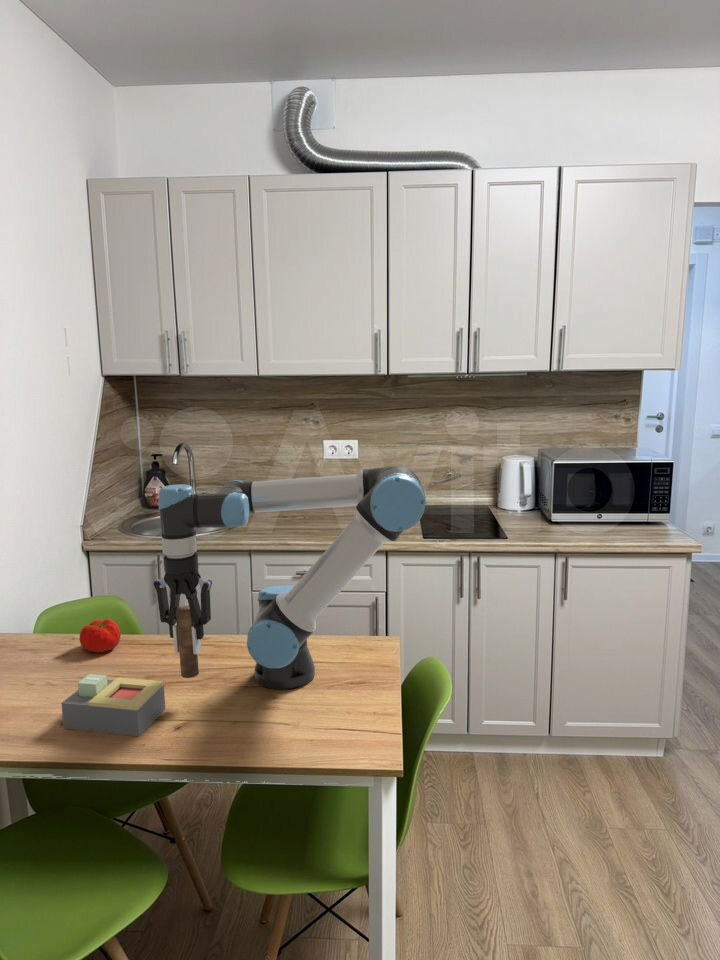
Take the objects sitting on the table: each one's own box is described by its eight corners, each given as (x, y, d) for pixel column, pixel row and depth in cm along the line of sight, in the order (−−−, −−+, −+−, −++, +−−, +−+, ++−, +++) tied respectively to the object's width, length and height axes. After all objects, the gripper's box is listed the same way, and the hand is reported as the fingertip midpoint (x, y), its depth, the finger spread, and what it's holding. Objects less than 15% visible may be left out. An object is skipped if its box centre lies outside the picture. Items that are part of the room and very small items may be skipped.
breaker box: (165, 708, 163) (163, 681, 162) (139, 736, 151) (136, 706, 150) (94, 702, 167) (92, 675, 165) (63, 728, 155) (61, 699, 154)
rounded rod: (201, 670, 166) (196, 605, 163) (194, 678, 162) (189, 612, 159) (185, 669, 167) (180, 605, 164) (178, 677, 163) (172, 611, 160)
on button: (108, 692, 161) (106, 675, 160) (97, 701, 156) (95, 684, 156) (90, 690, 162) (89, 673, 161) (79, 699, 157) (77, 682, 157)
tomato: (98, 660, 189) (96, 633, 188) (72, 651, 195) (70, 625, 194) (130, 646, 198) (128, 620, 197) (105, 638, 204) (103, 613, 203)
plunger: (144, 700, 160) (144, 690, 159) (132, 712, 154) (131, 702, 154) (122, 698, 161) (121, 688, 161) (108, 710, 156) (107, 700, 155)
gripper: (222, 549, 161) (229, 646, 165) (153, 548, 165) (161, 642, 169) (208, 559, 154) (216, 660, 158) (137, 557, 158) (146, 656, 162)
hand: (188, 651), depth 164 cm, fingers closed on rounded rod, 4 cm apart
